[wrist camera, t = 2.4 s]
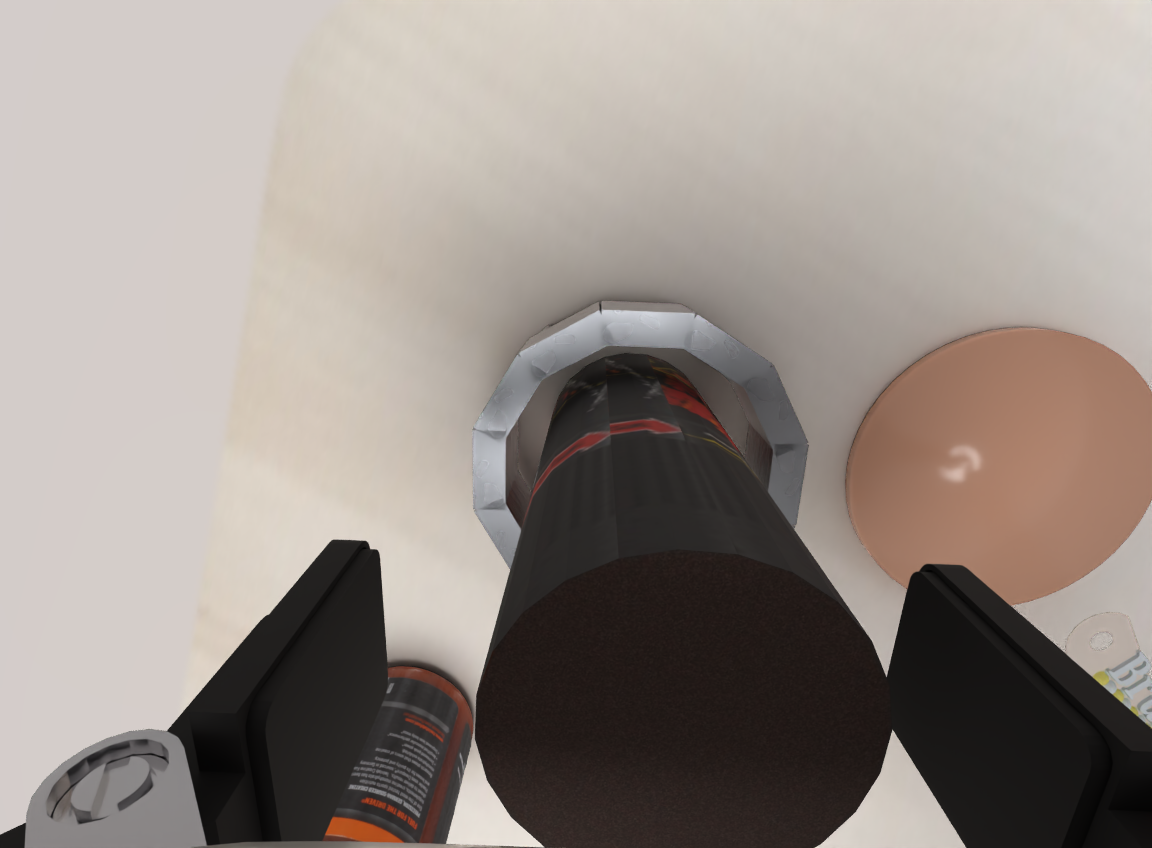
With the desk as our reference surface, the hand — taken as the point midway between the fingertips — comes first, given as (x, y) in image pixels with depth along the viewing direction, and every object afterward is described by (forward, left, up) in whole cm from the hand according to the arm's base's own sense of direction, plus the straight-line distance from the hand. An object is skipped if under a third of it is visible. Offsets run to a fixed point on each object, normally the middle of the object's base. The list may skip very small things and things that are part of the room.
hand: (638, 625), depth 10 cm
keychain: (-23, +11, -14) cm, 29 cm away
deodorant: (0, 0, -13) cm, 13 cm away
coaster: (-14, +1, -13) cm, 19 cm away
